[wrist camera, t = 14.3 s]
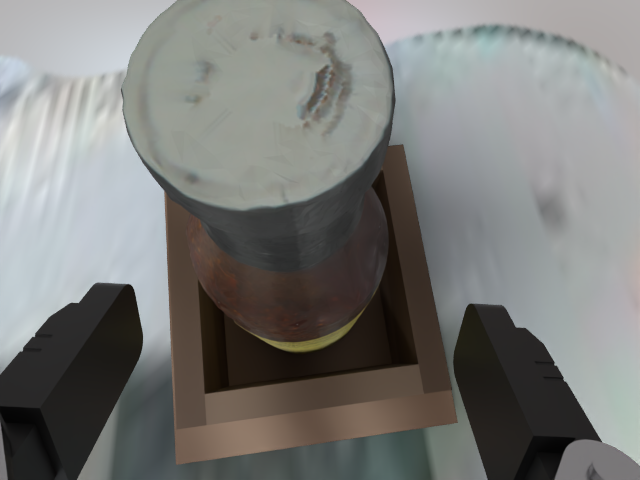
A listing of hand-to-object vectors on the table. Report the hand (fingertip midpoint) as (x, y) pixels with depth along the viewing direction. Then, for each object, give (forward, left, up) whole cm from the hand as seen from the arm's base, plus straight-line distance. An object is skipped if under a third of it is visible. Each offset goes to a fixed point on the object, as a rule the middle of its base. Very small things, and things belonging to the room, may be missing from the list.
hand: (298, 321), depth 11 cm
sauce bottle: (0, -3, -15) cm, 15 cm away
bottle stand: (0, -3, -16) cm, 16 cm away
